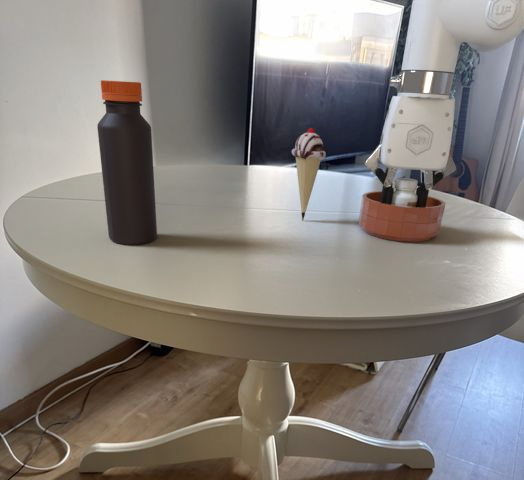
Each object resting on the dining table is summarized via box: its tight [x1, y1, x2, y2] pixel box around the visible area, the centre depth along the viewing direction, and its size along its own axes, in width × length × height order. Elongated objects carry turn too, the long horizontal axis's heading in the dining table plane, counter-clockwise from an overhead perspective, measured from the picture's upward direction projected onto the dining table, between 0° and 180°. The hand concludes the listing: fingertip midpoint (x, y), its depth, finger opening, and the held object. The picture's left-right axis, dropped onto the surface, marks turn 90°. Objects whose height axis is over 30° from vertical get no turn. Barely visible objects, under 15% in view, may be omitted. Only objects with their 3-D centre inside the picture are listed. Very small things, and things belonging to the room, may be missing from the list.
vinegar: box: [97, 79, 158, 246], centre depth 65 cm, size 7×7×20 cm
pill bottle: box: [391, 177, 419, 207], centre depth 79 cm, size 4×4×8 cm
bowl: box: [357, 190, 446, 243], centre depth 80 cm, size 13×13×6 cm
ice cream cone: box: [291, 127, 327, 222], centre depth 81 cm, size 6×6×15 cm
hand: (401, 211), depth 79 cm, fingers closed on pill bottle, 4 cm apart
